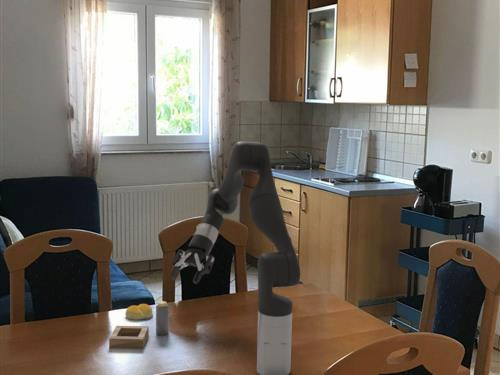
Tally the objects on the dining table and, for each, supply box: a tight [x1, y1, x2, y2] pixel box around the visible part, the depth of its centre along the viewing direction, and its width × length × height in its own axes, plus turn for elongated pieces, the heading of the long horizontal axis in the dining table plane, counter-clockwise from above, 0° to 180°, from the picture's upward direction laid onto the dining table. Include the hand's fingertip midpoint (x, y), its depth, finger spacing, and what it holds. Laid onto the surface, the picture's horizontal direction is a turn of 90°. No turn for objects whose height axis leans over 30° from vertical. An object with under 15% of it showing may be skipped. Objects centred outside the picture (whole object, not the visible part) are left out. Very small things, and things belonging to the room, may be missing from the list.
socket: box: [108, 325, 150, 350], centre depth 180 cm, size 10×10×3 cm
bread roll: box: [125, 303, 154, 321], centre depth 201 cm, size 8×9×4 cm
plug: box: [155, 300, 170, 337], centre depth 186 cm, size 4×4×10 cm
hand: (183, 280), depth 194 cm, fingers open, 8 cm apart
